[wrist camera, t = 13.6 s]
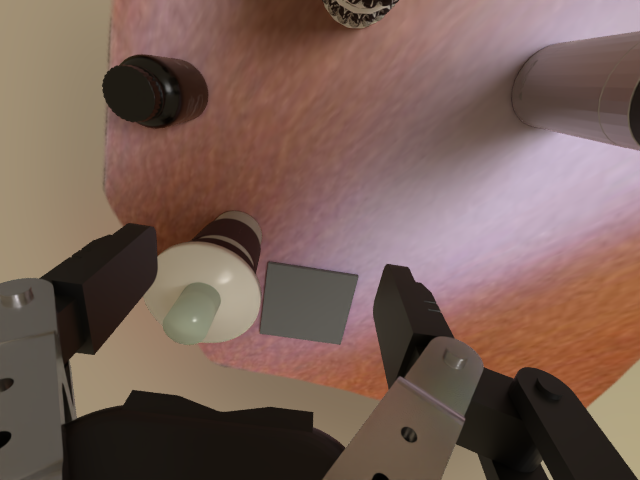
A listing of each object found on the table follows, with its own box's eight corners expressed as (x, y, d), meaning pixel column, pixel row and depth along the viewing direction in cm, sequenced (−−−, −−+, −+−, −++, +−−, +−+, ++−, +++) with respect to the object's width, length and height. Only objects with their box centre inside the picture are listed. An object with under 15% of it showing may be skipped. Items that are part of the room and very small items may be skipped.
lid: (267, 251, 33) (256, 283, 28) (256, 342, 38) (245, 382, 33) (144, 232, 32) (110, 261, 27) (150, 327, 37) (123, 366, 32)
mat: (357, 274, 52) (358, 277, 51) (340, 342, 58) (340, 344, 57) (268, 261, 51) (268, 263, 50) (260, 331, 57) (259, 333, 56)
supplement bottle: (189, 48, 38) (137, 36, 28) (220, 106, 41) (183, 116, 30) (141, 74, 40) (73, 72, 29) (173, 129, 42) (123, 146, 32)
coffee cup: (273, 262, 51) (255, 328, 37) (208, 261, 51) (167, 327, 37) (269, 201, 46) (247, 251, 33) (199, 200, 47) (148, 249, 33)
